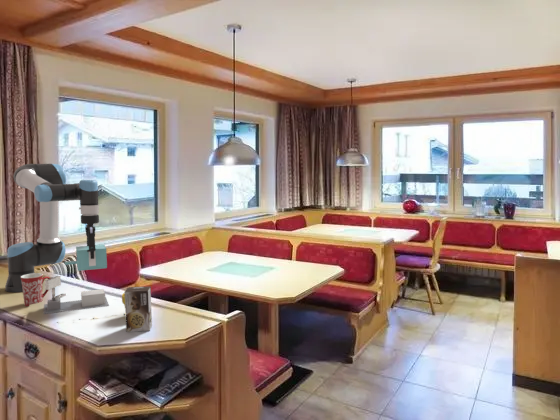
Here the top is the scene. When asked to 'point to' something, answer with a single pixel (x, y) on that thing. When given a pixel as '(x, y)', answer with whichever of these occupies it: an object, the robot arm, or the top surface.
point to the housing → (78, 302)
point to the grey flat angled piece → (53, 286)
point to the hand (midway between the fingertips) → (91, 263)
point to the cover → (84, 258)
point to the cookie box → (138, 309)
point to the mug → (33, 288)
